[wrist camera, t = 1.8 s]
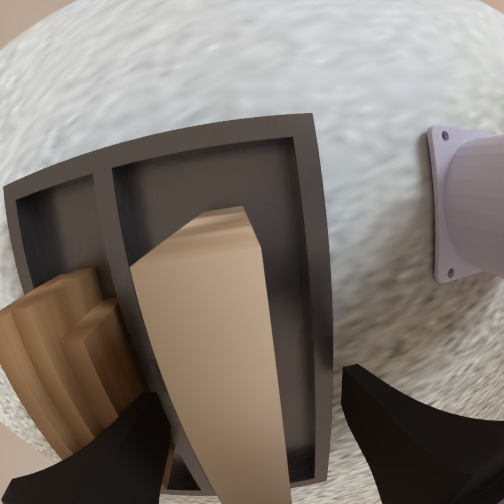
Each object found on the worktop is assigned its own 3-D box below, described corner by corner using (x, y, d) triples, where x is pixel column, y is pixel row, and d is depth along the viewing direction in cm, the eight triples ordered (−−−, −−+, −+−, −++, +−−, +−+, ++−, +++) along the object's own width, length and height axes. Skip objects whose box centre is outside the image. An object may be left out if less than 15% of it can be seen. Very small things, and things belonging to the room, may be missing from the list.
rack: (298, 126, 11) (312, 113, 9) (319, 457, 15) (326, 480, 13) (30, 185, 11) (3, 186, 8) (140, 469, 15) (134, 490, 13)
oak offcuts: (115, 263, 11) (42, 317, 6) (179, 442, 13) (166, 516, 8) (58, 273, 11) (-19, 319, 6) (130, 440, 13) (107, 507, 8)
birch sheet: (242, 205, 11) (261, 248, 3) (277, 448, 14) (297, 560, 6) (203, 211, 11) (130, 267, 3) (252, 451, 14) (263, 564, 6)
